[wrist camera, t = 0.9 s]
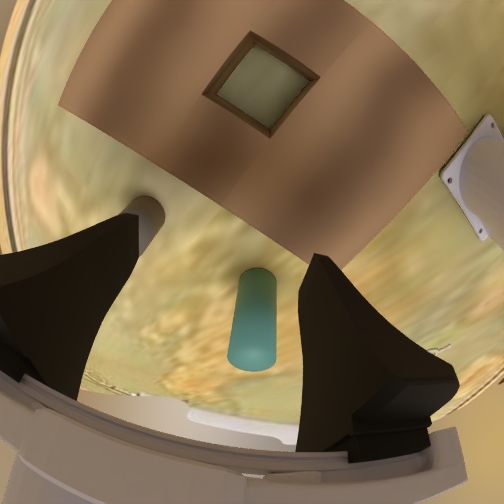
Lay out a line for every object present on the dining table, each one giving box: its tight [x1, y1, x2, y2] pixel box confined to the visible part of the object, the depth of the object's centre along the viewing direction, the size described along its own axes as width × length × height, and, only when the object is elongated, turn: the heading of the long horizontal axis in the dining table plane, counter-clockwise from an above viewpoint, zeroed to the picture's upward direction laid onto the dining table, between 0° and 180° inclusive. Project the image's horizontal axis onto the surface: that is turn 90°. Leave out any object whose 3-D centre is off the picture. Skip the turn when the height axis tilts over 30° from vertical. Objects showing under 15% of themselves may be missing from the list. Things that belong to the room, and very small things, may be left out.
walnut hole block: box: [58, 0, 468, 270], centre depth 14 cm, size 22×14×4 cm, turn 55°
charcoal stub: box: [119, 196, 165, 256], centre depth 19 cm, size 3×3×4 cm
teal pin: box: [227, 268, 277, 372], centre depth 20 cm, size 3×3×8 cm
